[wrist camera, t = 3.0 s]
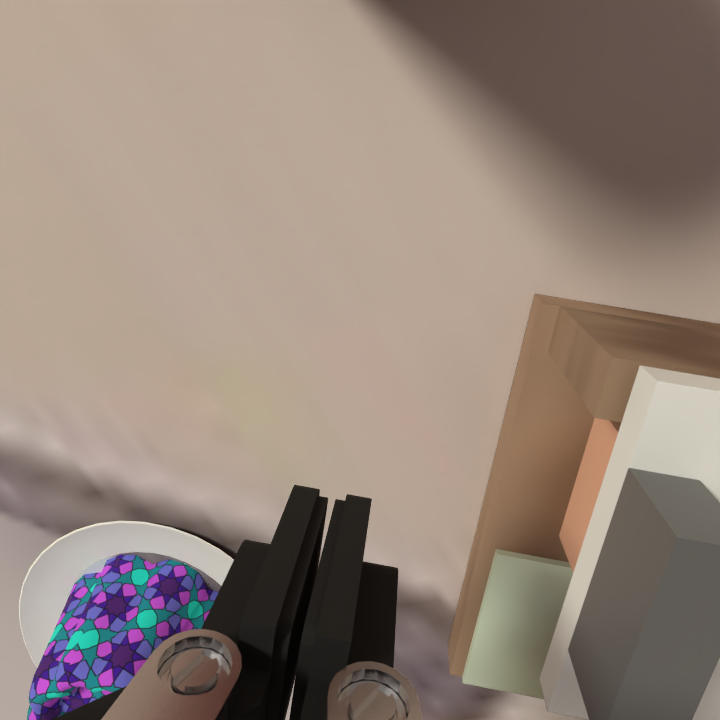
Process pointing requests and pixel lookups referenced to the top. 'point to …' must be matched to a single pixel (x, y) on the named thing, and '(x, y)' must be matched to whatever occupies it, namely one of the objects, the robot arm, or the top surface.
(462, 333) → the top surface
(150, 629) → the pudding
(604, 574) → the sliding lid
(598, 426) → the terracotta block
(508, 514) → the puzzle board
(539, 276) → the top surface
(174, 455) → the top surface
